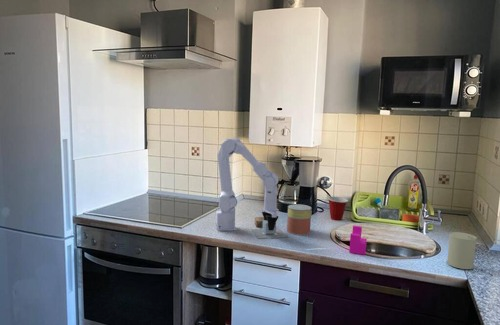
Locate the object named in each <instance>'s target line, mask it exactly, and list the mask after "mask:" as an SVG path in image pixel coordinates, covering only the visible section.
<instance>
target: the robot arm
mask: <svg viewBox="0 0 500 325" xmlns="http://www.w3.org/2000/svg"><path fill="white" fill-rule="evenodd" d="M233 154H237V155H241V156H242V157H243V158H244V159H245V160H246V161H247V162H248V163H249V164H250V165H251V166H252V170H253V172H254V173H255V174H256V175H257V176H258V177H259V179H260V180H261V181H262V182H263V186H264V199H263V200H264V201H263V202H264V203H263V211H261V214H262V217H264V220H267V221H268V228H269V231H270V230H274V227H275V223H276V224H277V220H279V216H278V215H277V214H278V213H277V212H279V209H278V208H277V198H278V197H277V196H278V195H277V194H278V184H279V180H280V179H279V177H278V174H276V173H274V172H273V171H271V170H270V169H269V168H268V167H267V164H266V163H264V162H263V161H259V160H257V158H256V157H255V155H254V154H253V153H252V151H250V149H248V147H247V146H246V145H245V143H243V141H241V140H240V138H238V137H232V138H226V139H224V140H223V141H222V142H221V144H220V148H219V150H218V153H217V163H218V170H219V172H218V173H219V181H220V190H221V192H220V195H219V202H218V208H219V209H220V210H216V211H215V229H216V230H217V232H221V231H222V232H224V231H225V232H226V231H237V230H238V229H237V227H236V206H237V204H238V199H237V197H236V195H235V192H234V190H233V183H232V174H231V173H232V172H231V165H230V158H231V156H232V155H233Z"/></svg>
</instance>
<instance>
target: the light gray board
mask: <svg viewBox="0 0 500 325" xmlns="http://www.w3.org/2000/svg"><path fill="white" fill-rule="evenodd" d="M262 230H263V228H251V231H252V232H253V233H254V235H255V236H256V237H257V239H259V240H260V239H261V240H262V239H281V238H283V239H285V238H289V236H288V235H287V234H286V233H285V232H284V231H283V230H281V228H279V227H276V233H271V234H265V233H264V232H263V231H262Z"/></svg>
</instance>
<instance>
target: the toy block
mask: <svg viewBox="0 0 500 325" xmlns="http://www.w3.org/2000/svg"><path fill="white" fill-rule="evenodd" d="M362 230H363V226H361V225H352V231H351V232H352V233H350V234H349V235H350V236H349V238H350V239H349V253H350V254H357V255H363V256H364V255H366V251H367V250H366V249H367V241H368V239H367V238H365V237H364V238H363V237H362Z"/></svg>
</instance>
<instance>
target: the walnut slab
mask: <svg viewBox="0 0 500 325" xmlns="http://www.w3.org/2000/svg"><path fill="white" fill-rule="evenodd" d="M263 220H264V217H263V216H255V217H254V225H255V228H263Z"/></svg>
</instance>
